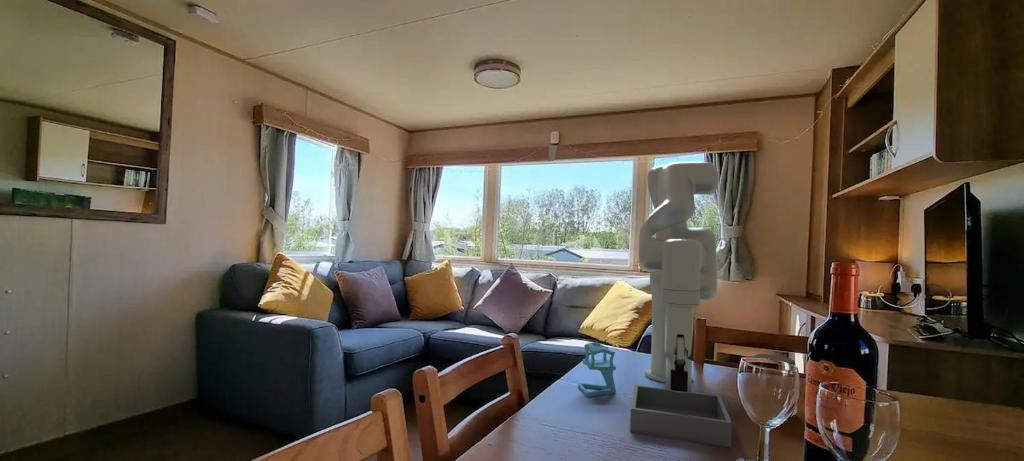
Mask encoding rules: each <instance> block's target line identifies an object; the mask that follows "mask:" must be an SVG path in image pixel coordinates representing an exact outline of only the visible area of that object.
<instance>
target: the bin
mask: <svg viewBox="0 0 1024 461" xmlns="http://www.w3.org/2000/svg"><path fill="white" fill-rule="evenodd" d="M632 393H633V394H632V399H631V405H630V421H629V423H630V427H629V432H630V433H635V434H641V435H642V434H643V435H647V436H648V435H649V436H656V437H661V438H667V439H674V440H681V441H686V442H692V443H699V444H704V445H705V444H706V445H713V446H719V447H726V448H732V435H733V434H732V432H733V430H732V428H733V424H732V423H733V422H732V420H731V418H730V415H729V413H728V411H727V408H726V406H725V403H724V401H723V399H722V397H721V395H720V394H711V393H705V392H704V393H703V392H695V391H691V392H689V393H678V392H673V391H670V390H668V389H666V387H664V388H663V387H658V386H657V387H656V386H649V385H639V384H634V387H633V392H632Z"/></svg>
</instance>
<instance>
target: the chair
mask: <svg viewBox="0 0 1024 461" xmlns="http://www.w3.org/2000/svg"><path fill="white" fill-rule="evenodd" d="M584 351H585V358H583V359H582V364H584V365H585V366H586V367H587V368H588V369H589V370H590V371H600V373H601V375H602V377H603V379H604V382H605V384H595V383H586V382H579V383H577V387H578V388H579V390H580V391H581V392H582V393H583V395H584V396H586V397H587V398H589V397H597V396H604V395H613V394H617V389H616V386H615V381H614V380H615V379H614V372H615V371H616V370H617V368H616V367H617V365H615V364H614V363H613V362H614V360H613V359H614V357H615V354H616V351H612V350H610V349H609V346H604V345H603V344H602V343H600V342H599V343H598V342H594V341H593V342H588V343H586V344H585V345H584ZM589 353H590V354H589ZM601 353H603V355H602V359H595V356H596V355H598V354H601ZM607 354H608V355H610V357H609V359H607ZM590 357H591V359H590ZM586 388H587V389H594V391H588V390H587V389H586ZM595 389H598V390H595Z"/></svg>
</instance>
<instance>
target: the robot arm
mask: <svg viewBox="0 0 1024 461" xmlns="http://www.w3.org/2000/svg"><path fill="white" fill-rule="evenodd" d="M719 180H720V177H719V172H718V169H717V166H716V165H715V164H714V163H713V162H711V161H710V162H709V161H676V162H670V163H667V164H661V165H656V166H654V167H652V168H650V169H649V171H648V173H647V182H646V183H647V188H648V194H649V197H650V199H651V202H652V205H653V207H654V210H652V211H651V212H650V213H649V214H648V215H647V216H646V217H645V219H644V221H643V222H642V224H641V227H640V228H639V229H640V230H639V234H638V235H639V236H638V261H639V264H640V266H641V268H642V269H643V270H645V271H649V272H650V273H649V285H650V294H651V308H652V310H651V342H650V343H651V348H650V350H651V351H650V367H648V368H646V369H645V370H644V375H645V376H646V377H647V378H648V379H650V380H652V381H656V382H660V383H665V384H666V358H667V357H672V370H671V384H670V388H671V390H673V391H681V392H687V391H688V371H687V359H688V358H689V357H691V355H692V345H693V330H694V329H693V327H694V308H695V309H696V308H700V301H710V300H713V299H714V298H715V296H716V295H717V290H718V274H717V273H718V272H717V269H718V268H717V263H718V262H717V243H716V241H717V240H716V237H715V235H714V232H713V231H712V230H711V229H709V228H706V227H689V226H688V224H687V222H688V220H690V219H691V218H692V217H693V216H694V215H695V211H696V205H695V195H714V194H715V193H716V191H717V190H718V187H719V182H720V181H719ZM654 235H655V238H653V236H654ZM675 358H677V359H676V360H675ZM693 381H694V379H693V375H692V381H691V383H692V382H693Z"/></svg>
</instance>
